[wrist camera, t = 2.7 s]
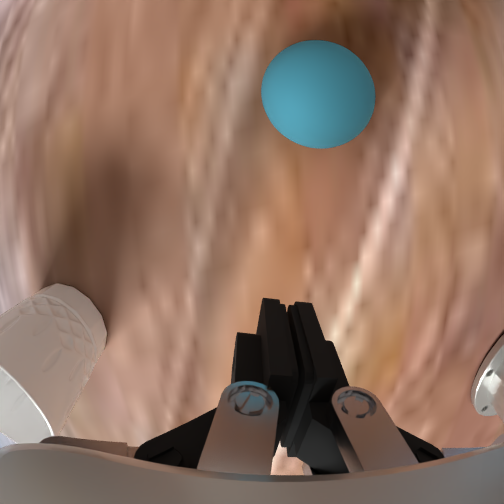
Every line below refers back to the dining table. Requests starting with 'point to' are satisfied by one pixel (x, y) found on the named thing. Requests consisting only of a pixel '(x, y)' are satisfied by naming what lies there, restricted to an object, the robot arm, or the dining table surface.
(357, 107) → the ball
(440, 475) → the robot arm
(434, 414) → the dining table surface
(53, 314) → the white cup
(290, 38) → the dining table surface
